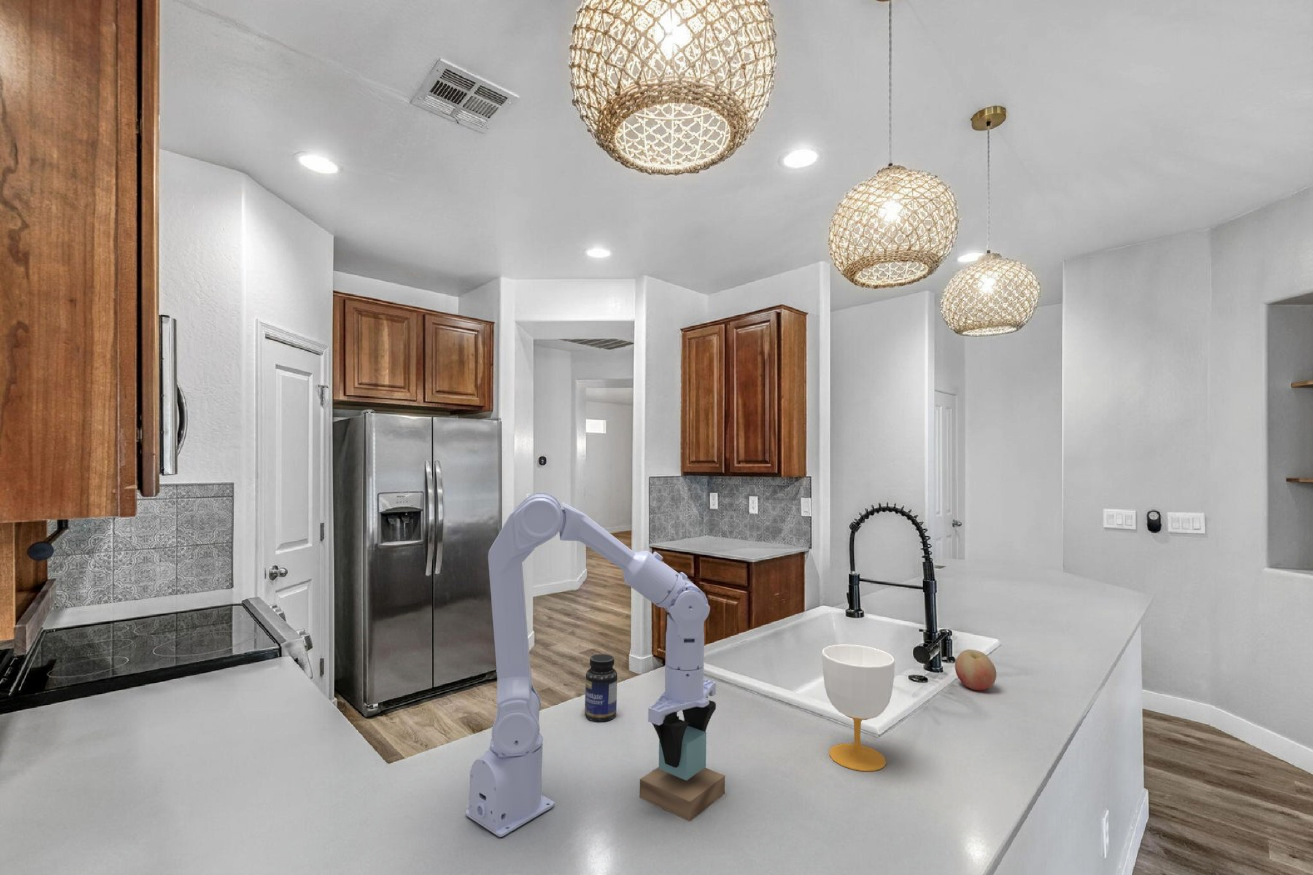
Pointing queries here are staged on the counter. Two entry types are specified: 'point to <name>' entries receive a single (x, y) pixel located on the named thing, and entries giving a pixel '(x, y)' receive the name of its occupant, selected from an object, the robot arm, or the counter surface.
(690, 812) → the walnut block
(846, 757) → the cup
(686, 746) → the teal cube
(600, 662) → the pill bottle
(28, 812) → the counter surface
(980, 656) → the fruit
